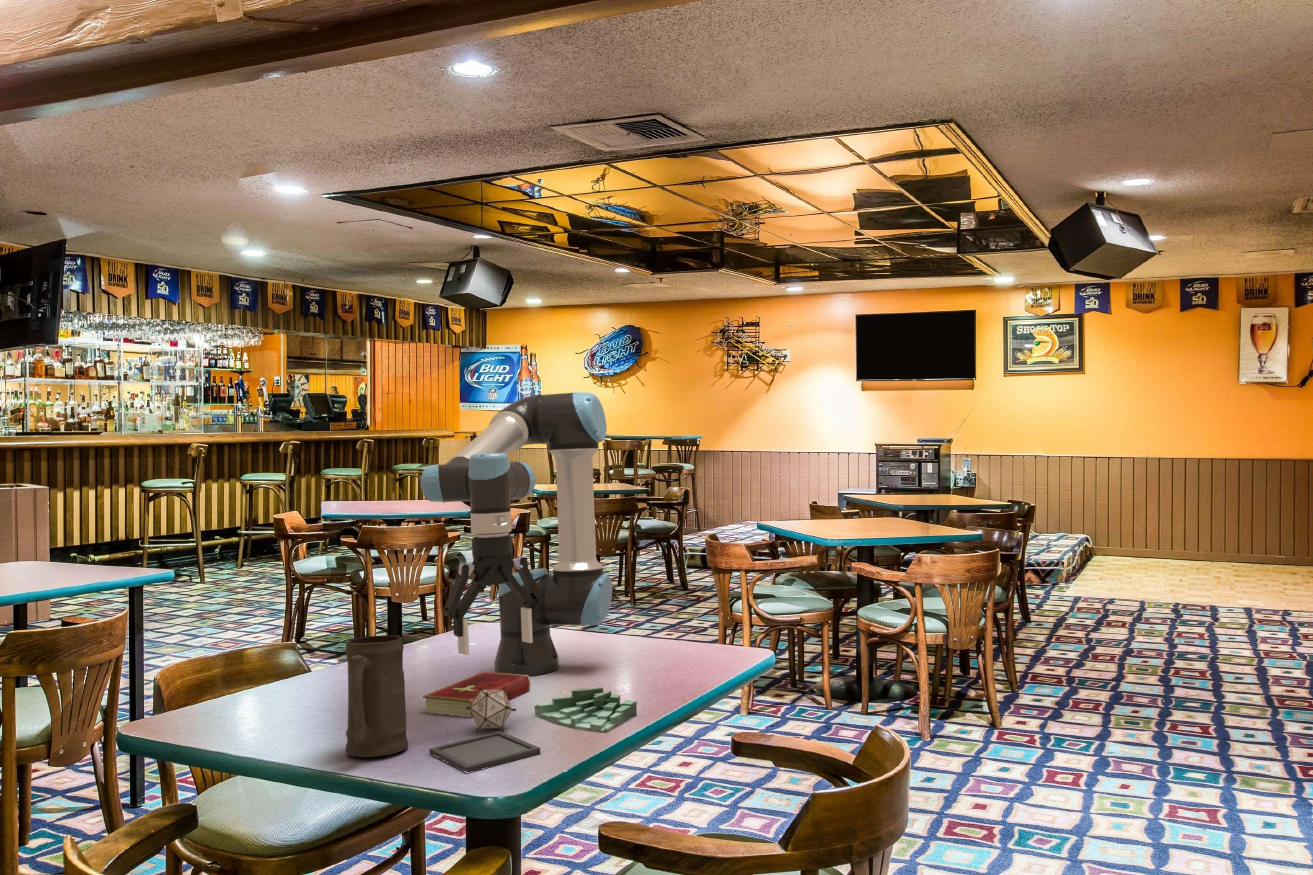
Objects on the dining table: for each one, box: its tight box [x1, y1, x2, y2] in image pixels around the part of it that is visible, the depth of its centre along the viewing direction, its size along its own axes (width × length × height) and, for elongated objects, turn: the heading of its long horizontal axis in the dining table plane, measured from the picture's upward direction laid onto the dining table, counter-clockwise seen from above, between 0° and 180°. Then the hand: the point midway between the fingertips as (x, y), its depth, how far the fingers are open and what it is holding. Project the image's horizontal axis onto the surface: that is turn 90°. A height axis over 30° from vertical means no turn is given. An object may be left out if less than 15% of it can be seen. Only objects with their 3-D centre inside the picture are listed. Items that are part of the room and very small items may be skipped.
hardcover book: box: [422, 671, 531, 719], centre depth 208 cm, size 12×21×4 cm, turn 155°
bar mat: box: [429, 730, 541, 773], centre depth 173 cm, size 14×14×1 cm
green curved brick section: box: [533, 686, 638, 733], centre depth 194 cm, size 20×16×5 cm
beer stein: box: [344, 634, 409, 758], centre depth 175 cm, size 15×11×20 cm
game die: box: [466, 686, 517, 733], centre depth 187 cm, size 9×8×10 cm
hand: (496, 647), depth 188 cm, fingers open, 13 cm apart
